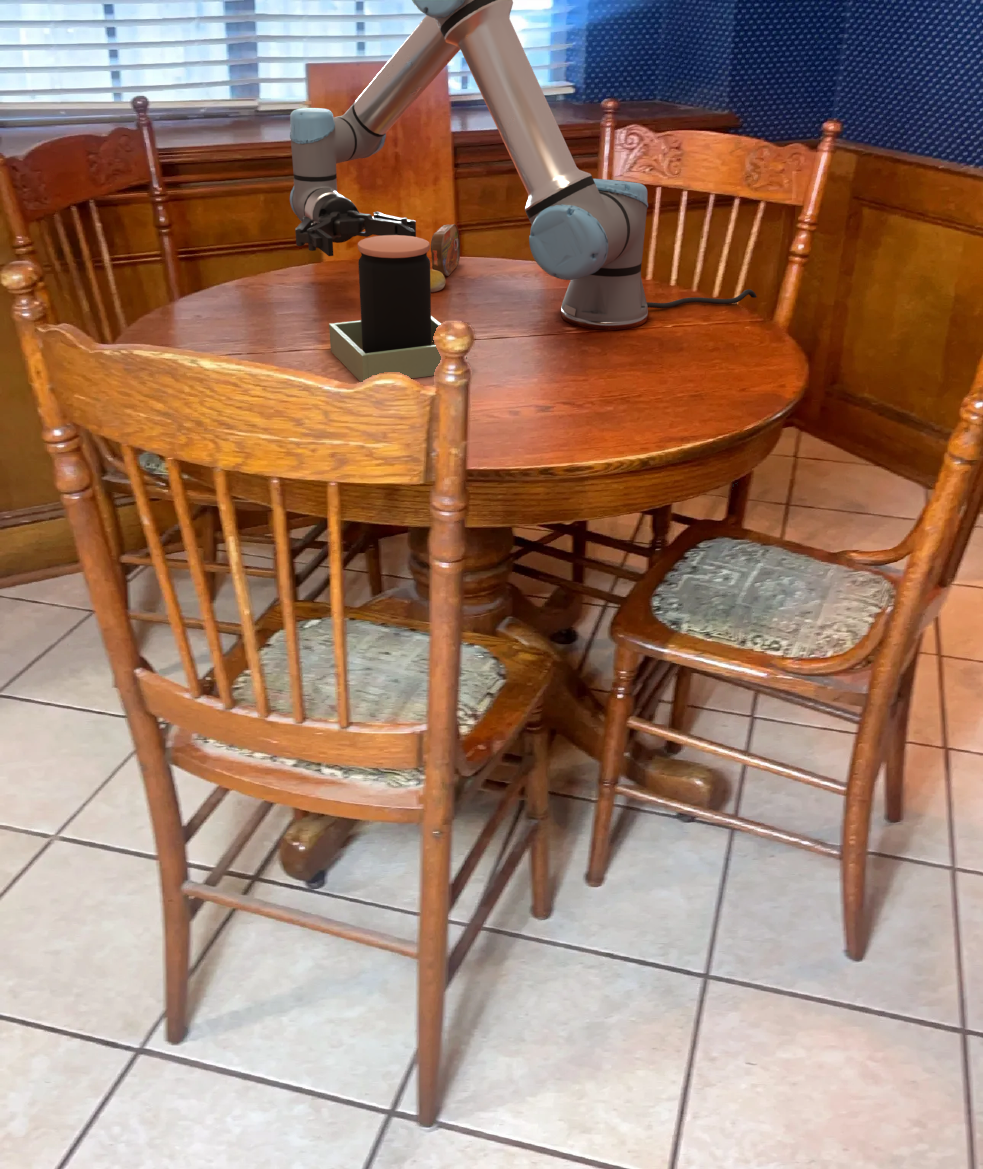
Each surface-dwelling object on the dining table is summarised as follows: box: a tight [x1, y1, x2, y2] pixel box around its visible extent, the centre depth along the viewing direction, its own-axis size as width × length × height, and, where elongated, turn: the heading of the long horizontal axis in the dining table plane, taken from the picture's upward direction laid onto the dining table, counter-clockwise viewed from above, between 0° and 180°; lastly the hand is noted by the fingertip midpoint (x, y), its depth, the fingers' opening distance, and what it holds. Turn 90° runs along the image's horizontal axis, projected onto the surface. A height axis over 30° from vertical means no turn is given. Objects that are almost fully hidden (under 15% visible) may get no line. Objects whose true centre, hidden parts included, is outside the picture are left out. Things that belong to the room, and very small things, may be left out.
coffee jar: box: [357, 235, 432, 353], centre depth 158 cm, size 11×11×18 cm
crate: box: [328, 315, 468, 383], centre depth 161 cm, size 17×17×4 cm
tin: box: [430, 223, 461, 277], centre depth 208 cm, size 15×3×8 cm, turn 168°
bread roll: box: [430, 268, 446, 293], centre depth 198 cm, size 8×9×4 cm
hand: (372, 243), depth 162 cm, fingers open, 13 cm apart
